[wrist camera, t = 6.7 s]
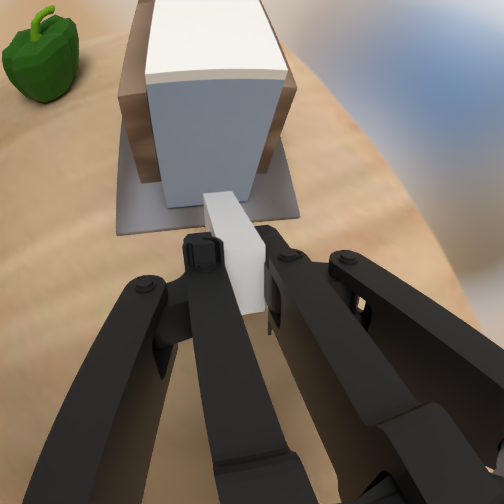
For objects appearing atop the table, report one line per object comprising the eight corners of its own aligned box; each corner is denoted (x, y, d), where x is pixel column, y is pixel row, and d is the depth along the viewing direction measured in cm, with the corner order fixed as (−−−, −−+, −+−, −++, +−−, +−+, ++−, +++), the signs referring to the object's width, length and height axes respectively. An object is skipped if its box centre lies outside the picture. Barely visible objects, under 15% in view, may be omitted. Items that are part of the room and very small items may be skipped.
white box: (167, 208, 23) (144, 74, 11) (164, 109, 25) (157, -14, 14) (247, 200, 24) (288, 70, 12) (230, 105, 27) (251, -15, 15)
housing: (117, 236, 22) (72, 160, 13) (128, 76, 27) (117, -2, 18) (298, 218, 25) (350, 142, 15) (259, 69, 30) (278, -7, 21)
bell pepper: (24, 126, 24) (-13, 57, 15) (21, 85, 26) (-5, 24, 16) (94, 90, 26) (74, 13, 17) (82, 55, 28) (67, -11, 19)
